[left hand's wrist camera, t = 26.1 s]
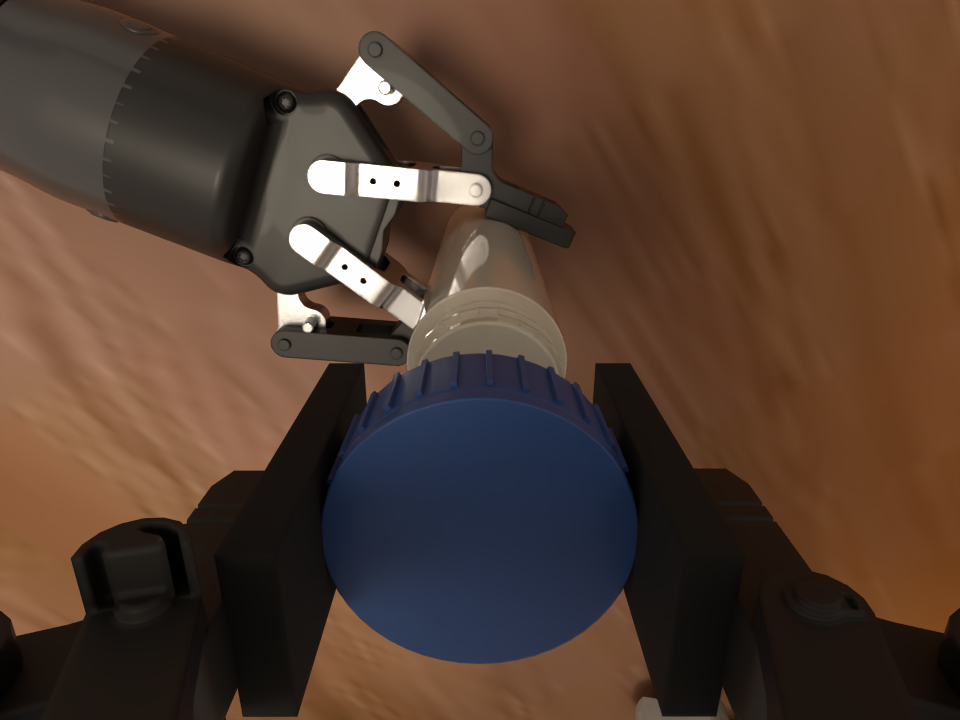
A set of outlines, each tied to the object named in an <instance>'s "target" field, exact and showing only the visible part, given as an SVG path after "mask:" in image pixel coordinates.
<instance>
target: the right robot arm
mask: <svg viewBox="0 0 960 720" xmlns="http://www.w3.org/2000/svg"><path fill="white" fill-rule="evenodd" d="M359 54H360V56H359V58H358V59H357V61H356V62H355V64H354V65H353V67H352V68H351V70H350V71H349V73H348V74H347V76H346V77H345V79H344V80H343V81H342V83H341V84H340V86H339V87H338V89H337V90H334V89H321V90H314V91H309V90H305V89H302V88H299V87H296V86H294V85H292V84H289V83H287V82H284V81H282V80H280V79H277V78H275V77H273V76H270V75H268V74H265V73H263V72H261V71H258V70H256V69H254V68H251V67H249V66H246V65H244V64H242V63H239V62H237V61H234V60H232V59H230V58H227V57H225V56H223V55H220V54H218V53H215V52H213V51H211V50H208V49H206V48H204V47H201V46H199V45H197V44H194V43H192V42H189V41H187V40H185V39H182V38H180V37H177V36H175V35H172V34H170V33H168V32H165V31H163V30H161V29H158V28H156V27H154V26H152V25H150V24H148V23H146V22H143V21H140V20H137V19H135V18H132V17H130V16H128V15H125V14H123V13H120V12H117V11H115V10H112V9H109V8H106V7H103V6H99V5H96V4H93V3H89V2H85V1H81V0H0V170H2V171H4V172H6V173H9V174H11V175H13V176H15V177H17V178H19V179H21V180H23V181H25V182H27V183H29V184H31V185H33V186H34V187H36V188H38V189H40V190H42V191H44V192H46V193H48V194H50V195H52V196H54V197H56V198H59V199H61V200H63V201H66V202H68V203H71V204H73V205H76V206H79V207H81V208H84V209H86V210H87V211H89V212H90V213H91V214H92V215H94V216H97V217H99V218H102V219H105V220H108V221H112V222H121V223H123V224H126V225H129V226H131V227H134V228H137V229H139V230H142V231H145V232H147V233H150V234H152V235H155V236H158V237H160V238H163V239H166V240H168V241H171V242H174V243H176V244H179V245H182V246H184V247H187V248H189V249H192V250H195V251H197V252H200V253H203V254H205V255H208V256H211V257H213V258H216V259H219V260H221V261H224V262H227V263H230V264H233V265H237V266H240V267H243V268H246V269H248V270H250V271H251V272H253V273H254V274H255V275H257V276H258V277H259V278H260V279H261V280H262V281H263V282H264V283H265V284H266V285H267V286H268V287H269V288H270V289H271V290H273V291H275V292H277V304H278V330H277V332H276V333H275V334H274V335H273V337H272V339H271V347H272V349H273V351H274V352H275V353H276V354H277V355H279V356H281V357H287V358H300V359H314V360H327V361H340V362H353V363H366V364H379V365H392V366H400V365H403V364H405V363H407V351H408V346H409V342H410V339H411V336H412V333H413V329H414V326H415V323H416V320H417V317H418V314H419V311H420V308H421V304H422V301H423V298H424V295H425V292H426V289H427V287H426V286H425V285H423V284H422V283H421V282H419V281H418V280H417V279H415V278H414V277H413V276H412V275H410V274H409V273H408V272H407V271H406V269H405V268H404V267H403V266H402V265H401V264H400V263H399V262H398V261H396V260H395V259H394V258H392V257H391V256H390V255H388V254H387V253H386V252H385V251H386V248H387V245H388V242H389V232H390V222H391V221H392V219H393V218H394V216H395V215H396V213H397V212H398V210H399V209H400V208H401V205H402V203H403V201H412V202H441V203H451V204H461V205H471V206H479V207H481V208H484V209H485V216H488V217H490V218H492V219H495V220H497V221H500V222H503V223H505V224H508V225H510V226H512V227H514V228H517V229H519V230H522V231H524V232H527V233H529V234H532V235H534V236H536V237H539V238H541V239H544V240H546V241H549V242H551V243H554V244H556V245H558V246H561V247H564V248H569V247H570V244H571V242H572V240H573V238H574V236H575V233H576V232H575V231H574V229H573V228H572V227H571V226H570V225H568V224H566V223H565V221H566V218H567V216H568V215H567V214H566V213H565V211H564V210H563V209H562V208H561V207H560V206H559V205H558V204H557V203H556V202H555V201H553V200H551V199H548V198H546V197H544V196H541V195H539V194H536V193H534V192H532V191H529V190H527V189H524V188H522V187H520V186H517V185H515V184H512V183H510V182H508V181H505V180H503V179H501V178H500V177H498V176H497V174H496V173H495V172H494V170H493V167H492V155H493V133H492V130H491V128H490V126H489V125H488V124H487V123H486V122H485V121H484V120H483V119H481V118H480V117H479V116H478V115H477V114H476V113H475V112H473V111H472V110H471V109H470V108H469V107H468V106H467V105H465V104H464V103H463V102H462V101H461V100H460V99H459V98H457V97H456V96H455V95H454V94H453V93H452V92H451V91H450V90H448V89H447V88H446V87H445V86H444V85H443V84H442V83H440V82H439V81H438V80H437V79H436V78H435V77H434V76H432V75H431V74H430V73H429V72H428V71H427V70H426V69H424V68H423V67H422V66H421V65H420V64H419V63H418V62H416V61H415V60H414V59H413V58H412V57H411V56H410V55H408V54H407V53H406V52H405V51H404V50H403V49H402V48H400V47H399V46H398V45H397V44H396V43H395V42H394V41H392V40H391V39H389V38H388V37H387V36H385V35H384V34H382V33H380V32H377V31H372V32H368V33H367V34H365V35H364V36H363V37H362V39H361V40H360V43H359ZM404 97H405V98H406V99H407V100H408V101H409V102H410V103H412V104H413V105H414V106H415V107H416V108H417V109H419V110H420V111H421V112H422V113H423V114H424V115H426V116H427V117H428V118H429V119H430V120H431V121H433V122H434V123H435V124H436V125H437V126H438V127H440V128H441V129H442V130H443V131H444V132H445V133H447V134H448V135H449V136H450V137H451V138H452V139H454V140H455V141H456V142H457V143H458V144H460V145H461V146H462V156H461V167H458V166H448V165H439V164H435V163H429V162H419V161H409V160H400V159H395V158H394V157H393V155H392V154H391V152H390V151H389V149H388V147H387V146H386V144H385V143H384V141H383V140H382V138H381V137H380V135H379V133H378V132H377V130H376V129H375V127H374V126H373V124H372V123H371V121H370V120H369V118H368V116H367V115H366V113H365V112H364V110H363V109H362V107H361V105H362V104H363V103H364V102H365V101H367V100H369V99H374V100H376V101H378V102H380V103H381V104H384V105H396V104H398V103H400V102H401V101H402V100H403V99H404ZM363 278H365V279H366V281H365V280H363ZM340 283H343V284H344V285H346V286H347V287H349V288H350V289H351V290H353V291H354V292H355V293H357V294H358V295H360V296H361V297H362V298H364V299H365V300H366V301H368V302H369V303H370V304H372V305H374V306H375V307H378V308H383V309H385V310H387V311H388V312H390V313H391V314H392V315H394V316H395V317H396V318H398V319H399V321H385V320H372V319H359V318H347V317H334V316H330V313H329V311H328V309H327V308H326V307H325V306H323V305H321V304H318V303H314V302H312V301H310V300H309V299H308V298H307V296H306V295H305V292H308V291H312V290H316V289H320V288H324V287H328V286H332V285H336V284H340Z"/></svg>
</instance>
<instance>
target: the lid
mask: <svg viewBox="0 0 960 720" xmlns="http://www.w3.org/2000/svg"><path fill="white" fill-rule="evenodd" d="M626 472H629V468H628V466H627V464H626V461H625V459H624V457H623V454H622V452H621V449H620V447H619V445H618V442H617V440H616V437H615V435H614V433H613V430H612V428H609V429H608V427H607V425H606V422H605V420H604V417H603V415H602V412H601V410H600V407H599V406H598V405H597V403H596V404H594V405H592V404H591V403H590V402H589V401H588V399H587V398H586V397H585V396H584V395H583V394H582V391H581V389H580V386H579V385H578V384H577V383H576V382H575V383H574V384H573V385H572V384H571V383H569V382H568V381H567V380H565V379H564V378H562V377H560V376H559V375H557V374H556V373H555V370H554V368H553V367H551V366H548V368H547V369H546V368H544V367H542V366H540V365H538V364H535V363H532V362H529V361H526V360H525V357H524V356H523V355H518V358H516V357H510V356H505V355H500V354H492V350H486V354H485V353H475V354H460V353H459V351H456V352H453V356H449V357H444V358H440V359H437V360H434V361H431V362H429V361H428V359H425V360H422V363H421V365H420V366H418V367H416V368H413V369H411V370H409V371H407V372H405V373H404V374H402V375H401V374H400V373H399V372H398V373H396V374H395V375H394V377H393V380H392V381H391V382H390V383H389V384H388V385H387V386H386V387H384V388H383V389H382V390H381V391H380V392H378V393H377V392H375V391H374V392H373V393H372V394H371V395H370V398H369V401H368V403H367V406H366V407H365V409H364V410H363V412H362V413H361V415H358V414H355V416H354V418H353V420H352V422H351V425H350V427H349V430H348V432H347V434H346V437H345V439H344V440H343V443H342V445H341V447H340V450H339V452H338V454H337V457H336V459H335V462H334V464H333V466H332V469H331V471H330V474H329V476H328V478H327V481H326V484H329V485H330V486H329V488H328V491H327V495H326V498H325V501H324V505H323V510H322V518H321V528H322V539H323V548H324V557H325V562H326V565H327V568H328V571H329V574H330V576H331V578H332V580H333V582H334V584H335V586H336V588H337V590H338V592H339V593H340V595H341V596H342V597H343V599H344V600H345V602H346V603H347V605H348V606H349V607H350V608H351V609H352V610H353V611H354V612H355V613H356V615H357V616H358V617H359V618H360V619H361V620H362V621H364V622H365V623H366V624H367V625H368V626H370V627H371V628H372V629H373V630H374V631H376V632H377V633H379V634H381V635H382V636H384V637H385V638H387V639H388V640H390V641H392V642H394V643H396V644H398V645H400V646H402V647H404V648H406V649H408V650H411V651H413V652H416V653H419V654H421V655H424V656H428V657H432V658H436V659H440V660H444V661H451V662H457V663H471V664H489V663H502V662H509V661H515V660H520V659H524V658H528V657H532V656H536V655H538V654H541V653H544V652H546V651H549V650H552V649H554V648H556V647H558V646H560V645H562V644H564V643H566V642H568V641H570V640H572V639H573V638H575V637H576V636H578V635H579V634H581V633H582V632H584V631H585V630H586V629H588V628H589V627H590V626H591V625H592V624H594V623H595V622H596V621H597V620H598V619H599V618H600V617H601V616H602V615H603V614H604V613H605V612H606V611H607V610H608V609H609V608H610V607H611V605H612V604H613V603H614V601H615V600H616V598H617V597H618V596H619V594H620V593H621V591H622V589H623V587H624V585H625V584H626V582H627V580H628V578H629V576H630V573H631V570H632V567H633V564H634V561H635V554H636V545H637V535H638V513H637V506H636V503H635V499H634V496H633V493H632V489H631V487H630V484H629V482H628V479H627V477H626V474H625V473H626Z"/></svg>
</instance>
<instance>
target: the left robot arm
mask: <svg viewBox="0 0 960 720" xmlns="http://www.w3.org/2000/svg"><path fill="white" fill-rule="evenodd" d="M596 403H597V405H598V406H599V407H600V410H601V412H602V415H603V417H604V420H605V422H606V425H607V427H608V429H609V428H612V430H613V433H614V435H615V437H616V440H617V442H618V445H619V447H620V449H621V452H622V454H623V457H624V459H625V461H626V464H627V466H628V468H629V472H626V473H625V474H626V477H627V479H628V482H629V484H630V487H631V489H632V493H633V496H634V499H635V503H636V506H637V513H638V535H637V545H636V554H635V561H634V564H633V567H632V570H631V573H630V576H629V578H628V580H627V582H626V584H625V585H624V587H623V588H624V592H625V595H626V598H627V602H628V605H629V608H630V612H631V615H632V618H633V622H634V625H635V628H636V631H637V635H638V638H639V641H640V645H641V648H642V651H643V655H644V658H645V661H646V665H647V668H648V671H649V674H650V678H651V681H652V684H653V688H654V691H655V694H656V698H657V701H658V704H659V707H660V711H661V714H662V717H717V712H718V707H719V701H720V695H721V690H722V686H723V688H724V690H725V693H726V695H727V697H728V700H729V702H730V704H731V707H732V709H733V712H734V714H735V717H734V720H960V608H959V609H958V610H957V611H956V612H954V613H953V614H952V615H951V616H950V617H949V620H948V623H947V626H946V629H945V632H944V633H940V632H935V631H931V630H926V629H922V628H917V627H913V626H908V625H904V624H899V623H895V622H891V621H887V620H884V619H880V618H877V617H876V616H875V614H874V612H873V611H872V609H871V608H870V606H869V605H868V604H867V602H866V601H865V599H864V598H863V597H861V596H860V595H859V594H858V593H856V592H855V591H854V590H852V589H851V588H850V587H849V586H847V585H846V584H843V583H841V582H839V581H837V580H835V579H833V578H831V577H829V576H827V575H824V574H820V573H816V572H812V571H811V569H810V568H809V567H808V565H807V564H806V563H805V561H804V560H803V558H802V557H801V556H800V554H799V553H798V552H797V550H796V549H795V547H794V546H793V545H792V543H791V542H790V541H789V539H788V538H787V536H786V535H785V534H784V532H783V531H782V530H781V528H780V527H779V525H778V524H777V523H776V522H773V517H772V516H771V514H770V513H769V512H768V510H767V509H766V507H765V506H762V502H761V501H760V499H759V498H758V496H757V495H756V494H755V492H754V491H753V490H752V488H751V487H750V485H749V484H747V483H746V482H745V481H743V480H742V479H740V478H739V477H737V476H736V475H734V474H733V473H731V472H730V471H728V470H727V469H694V468H693V467H692V465H691V463H690V462H689V460H688V459H687V457H686V455H685V454H684V452H683V450H682V449H681V447H680V445H679V444H678V442H677V440H676V439H675V437H674V435H673V434H672V432H671V430H670V429H669V427H668V425H667V424H666V422H665V420H664V419H663V417H662V415H661V414H660V412H659V410H658V409H657V407H656V405H655V404H654V402H653V400H652V399H651V397H650V396H649V394H648V392H647V391H646V389H645V387H644V386H643V384H642V382H641V381H640V379H639V377H638V376H637V374H636V372H635V371H634V369H633V367H632V366H631V364H630V363H596V365H595V380H594V394H593V405H594V404H596ZM366 406H367V400H366V386H365V371H364V363H329V365H328V367H327V368H326V370H325V372H324V373H323V375H322V377H321V378H320V380H319V382H318V383H317V385H316V387H315V388H314V390H313V392H312V393H311V395H310V396H309V398H308V400H307V401H306V403H305V405H304V406H303V408H302V410H301V411H300V413H299V415H298V416H297V418H296V420H295V421H294V423H293V425H292V426H291V428H290V430H289V431H288V433H287V435H286V436H285V438H284V440H283V441H282V443H281V445H280V446H279V448H278V450H277V451H276V453H275V455H274V456H273V458H272V459H271V461H270V463H269V464H268V466H267V468H266V469H265V471H233V472H232V473H230V474H229V475H227V476H226V477H224V478H223V479H221V480H220V481H218V482H217V483H216V484H214V485H213V486H211V488H210V489H209V490H208V492H207V493H206V494H205V496H204V497H203V499H202V500H201V501H200V503H199V504H198V508H195V510H194V511H193V512H192V514H191V515H190V517H189V518H188V519H187V524H182V523H181V522H180V521H176V520H172V519H168V518H143V519H139V520H135V521H130V522H126V523H122V524H119V525H117V526H114V527H112V528H110V529H107V530H105V531H103V532H100V533H99V534H97V535H96V536H94V537H93V538H91V539H90V540H88V541H87V542H85V543H84V544H82V545H81V547H80V548H79V549H78V550H77V551H76V553H75V554H74V555H73V556H72V557H71V561H72V565H73V569H74V572H75V576H76V579H77V583H78V587H79V590H80V594H81V598H82V601H83V605H84V608H85V612H86V615H85V617H84V620H82V621H79V622H75V623H72V624H69V625H64V626H60V627H55V628H51V629H46V630H42V631H37V632H33V633H28V634H24V635H19V636H16V634H15V631H14V628H13V625H12V622H11V619H10V618H9V617H7V616H6V615H5V614H4V613H3V612H1V611H0V720H226V717H225V716H226V714H227V712H228V709H229V707H230V704H231V702H232V700H233V697H234V695H235V693H236V690H237V688H238V692H239V698H240V703H241V709H242V714H243V717H297V716H298V713H299V709H300V706H301V703H302V700H303V696H304V693H305V690H306V686H307V683H308V680H309V676H310V673H311V670H312V667H313V663H314V660H315V657H316V653H317V650H318V647H319V643H320V640H321V637H322V633H323V630H324V627H325V624H326V620H327V617H328V614H329V610H330V607H331V604H332V600H333V597H334V594H335V591H336V586H335V584H334V582H333V580H332V578H331V576H330V574H329V571H328V568H327V565H326V562H325V557H324V548H323V539H322V528H321V518H322V510H323V505H324V501H325V498H326V495H327V491H328V488H329V486H330V485H329V484H326V481H327V478H328V476H329V474H330V471H331V469H332V466H333V464H334V462H335V459H336V457H337V454H338V452H339V450H340V447H341V445H342V443H343V440H344V439H345V437H346V434H347V432H348V430H349V427H350V425H351V422H352V420H353V418H354V416H355V414H358V415H361V413H362V412H363V410H364V409H365V407H366Z"/></svg>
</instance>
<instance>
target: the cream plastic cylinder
mask: <svg viewBox="0 0 960 720" xmlns="http://www.w3.org/2000/svg"><path fill="white" fill-rule="evenodd" d="M486 350H492V354H500V355H505V356H510V357H516V358H518V355H523V356H524V357H525V360H526V361H529V362H532V363H535V364H538V365H540V366H542V367H544V368H546V369H547V368H548V366H551V367H553V368H554V370H555V373H556V374H557V375H559V376H560V377H562V378H564V379H565V376H566V369H567V353H566V346H565V343H564V339H563V336H562V333H561V330H560V327H559V324H558V321H557V318H556V315H555V312H554V310H553V307H552V304H551V301H550V298H549V295H548V292H547V289H546V286H545V283H544V280H543V277H542V274H541V271H540V268H539V265H538V262H537V259H536V256H535V253H534V250H533V248H532V245H531V242H530V239H529V236H528V233H527V232H524V231H522V230H519V229H517V228H514V227H512V226H510V225H508V224H505V223H503V222H500V221H497V220H495V219H492V218H490V217H488V216H485V209H484V208H481V207H479V206H471V205H460V206H459V207H458V208H457V209H456V210H455V211H454V212H453V213H452V215H451V216H450V218H449V221H448V223H447V226H446V229H445V232H444V236H443V239H442V242H441V245H440V248H439V251H438V254H437V257H436V261H435V264H434V267H433V270H432V273H431V276H430V279H429V282H428V286H427V289H426V292H425V295H424V298H423V301H422V304H421V308H420V311H419V314H418V317H417V320H416V323H415V326H414V329H413V333H412V336H411V339H410V342H409V346H408V351H407V371H409V370H411V369H413V368H416V367H418V366H420V365H421V363H422V360H425V359H428V361H429V362H431V361H434V360H437V359H440V358H444V357H449V356H453V352H456V351H459V353H460V354H475V353H485V354H486Z"/></svg>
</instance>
